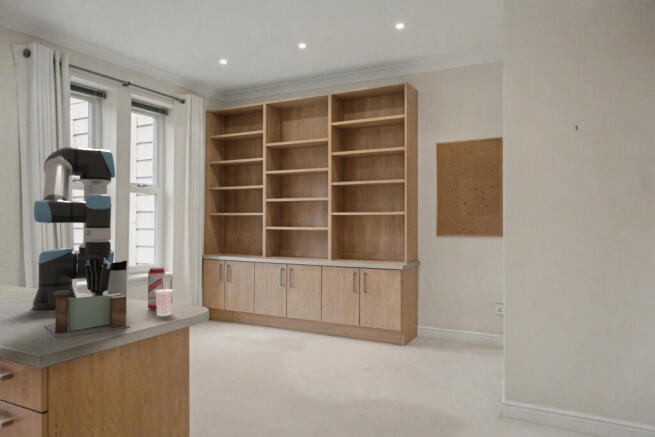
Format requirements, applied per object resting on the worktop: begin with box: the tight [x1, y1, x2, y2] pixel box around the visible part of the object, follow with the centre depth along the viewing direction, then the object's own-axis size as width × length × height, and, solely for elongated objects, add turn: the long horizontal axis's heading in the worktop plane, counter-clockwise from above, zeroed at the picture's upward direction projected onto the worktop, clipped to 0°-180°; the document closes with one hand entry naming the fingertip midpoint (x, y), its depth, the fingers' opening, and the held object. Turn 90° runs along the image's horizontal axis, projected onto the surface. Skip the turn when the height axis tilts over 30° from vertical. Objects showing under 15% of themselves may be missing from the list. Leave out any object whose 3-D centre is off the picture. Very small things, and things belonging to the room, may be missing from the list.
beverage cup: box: [155, 276, 174, 317], centre depth 159 cm, size 6×6×14 cm
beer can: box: [147, 267, 166, 311], centre depth 169 cm, size 6×6×16 cm
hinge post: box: [53, 290, 70, 334], centre depth 131 cm, size 4×4×13 cm
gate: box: [68, 293, 122, 330], centre depth 138 cm, size 3×15×9 cm, turn 133°
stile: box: [110, 296, 127, 328], centre depth 139 cm, size 4×4×10 cm
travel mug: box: [107, 260, 128, 313], centre depth 157 cm, size 6×7×20 cm
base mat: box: [44, 323, 131, 339], centre depth 140 cm, size 20×20×1 cm
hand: (97, 312), depth 142 cm, fingers closed
